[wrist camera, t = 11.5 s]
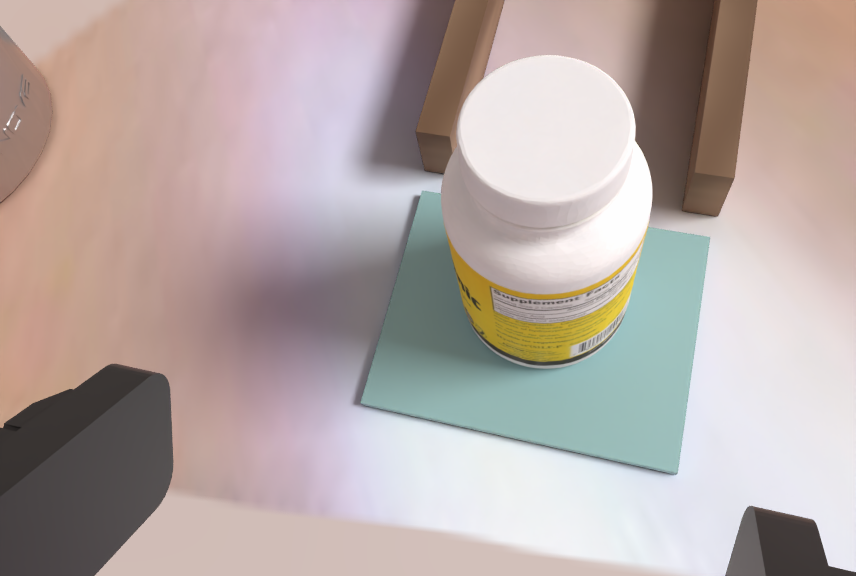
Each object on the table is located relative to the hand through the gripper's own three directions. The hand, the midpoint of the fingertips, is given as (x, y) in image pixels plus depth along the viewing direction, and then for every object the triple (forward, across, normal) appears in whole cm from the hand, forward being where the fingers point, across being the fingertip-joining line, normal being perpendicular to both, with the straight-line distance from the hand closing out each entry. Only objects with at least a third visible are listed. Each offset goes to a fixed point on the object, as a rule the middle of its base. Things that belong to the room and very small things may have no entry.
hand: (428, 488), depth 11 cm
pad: (+16, 0, +4) cm, 16 cm away
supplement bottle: (+16, 0, +4) cm, 17 cm away
